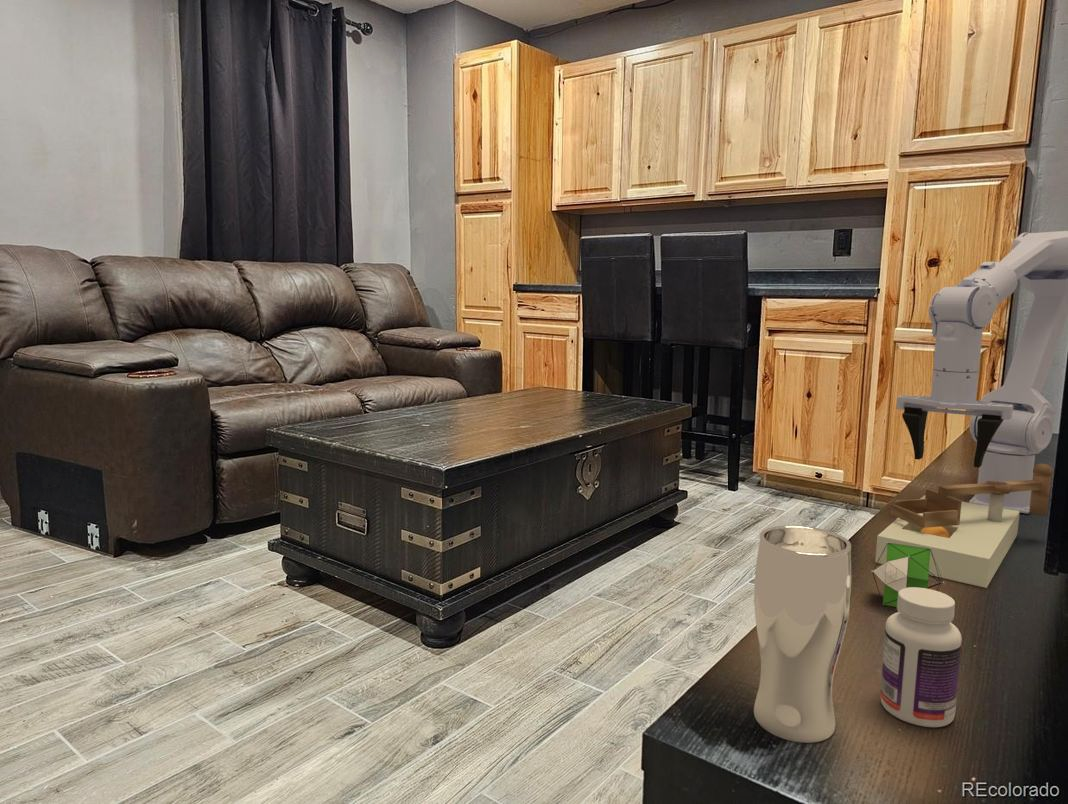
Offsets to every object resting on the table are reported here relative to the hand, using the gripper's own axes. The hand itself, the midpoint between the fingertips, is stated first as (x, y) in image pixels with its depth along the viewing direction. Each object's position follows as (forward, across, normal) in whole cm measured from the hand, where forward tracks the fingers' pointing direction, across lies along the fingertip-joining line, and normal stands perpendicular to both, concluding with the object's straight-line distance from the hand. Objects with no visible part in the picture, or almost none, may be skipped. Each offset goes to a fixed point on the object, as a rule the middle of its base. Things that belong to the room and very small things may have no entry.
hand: (947, 462), depth 105 cm
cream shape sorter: (+9, +3, -13) cm, 16 cm away
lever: (+5, +6, -10) cm, 12 cm away
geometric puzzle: (+9, +3, -36) cm, 37 cm away
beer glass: (+9, +2, -65) cm, 65 cm away
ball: (+7, +2, -17) cm, 18 cm away
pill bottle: (+9, +9, -57) cm, 58 cm away
